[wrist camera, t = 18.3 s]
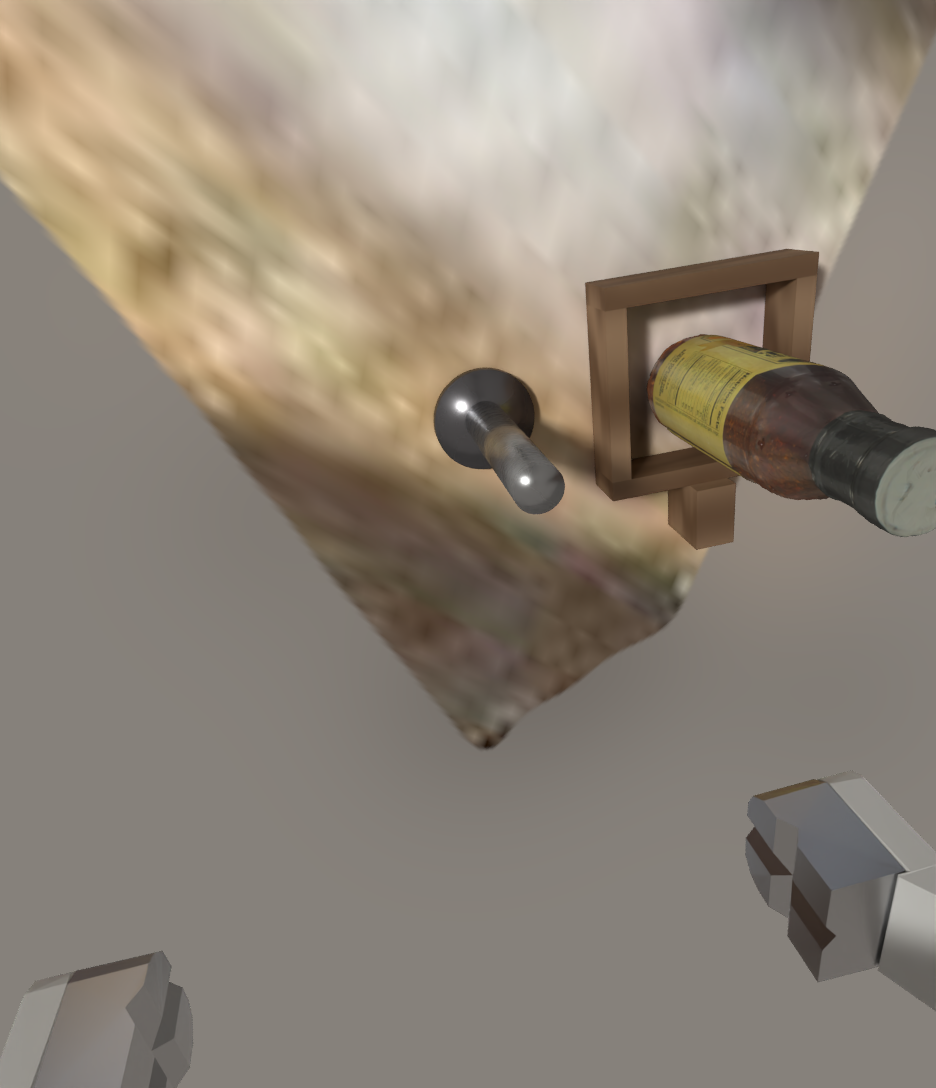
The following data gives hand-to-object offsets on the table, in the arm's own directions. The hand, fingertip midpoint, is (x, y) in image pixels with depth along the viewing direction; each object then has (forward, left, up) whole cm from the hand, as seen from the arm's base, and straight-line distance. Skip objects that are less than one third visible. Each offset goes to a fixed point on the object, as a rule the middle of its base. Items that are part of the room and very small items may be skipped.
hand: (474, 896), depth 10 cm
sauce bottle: (+4, +20, -34) cm, 40 cm away
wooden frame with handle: (+6, +20, -34) cm, 40 cm away
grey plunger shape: (+4, +7, -34) cm, 35 cm away
